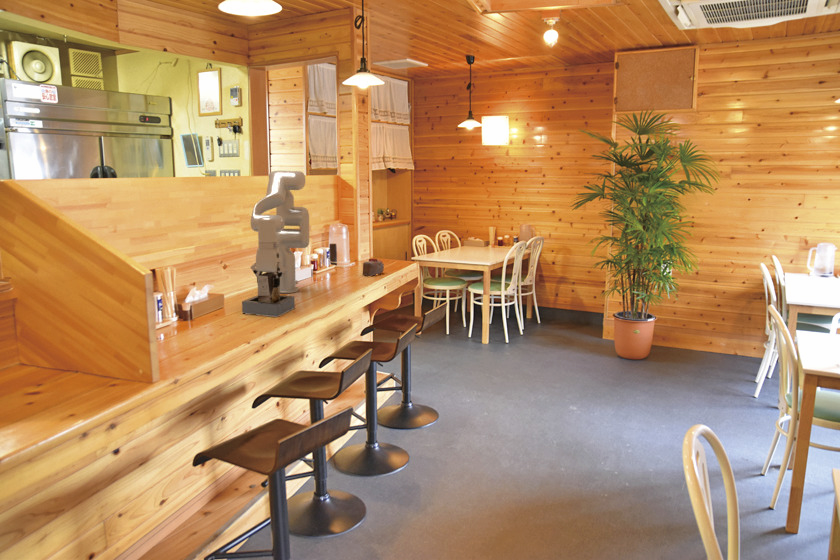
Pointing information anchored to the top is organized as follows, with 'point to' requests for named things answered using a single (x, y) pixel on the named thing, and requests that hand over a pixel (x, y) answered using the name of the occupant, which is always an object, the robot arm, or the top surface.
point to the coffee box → (268, 288)
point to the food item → (373, 267)
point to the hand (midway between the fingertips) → (268, 285)
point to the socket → (268, 306)
